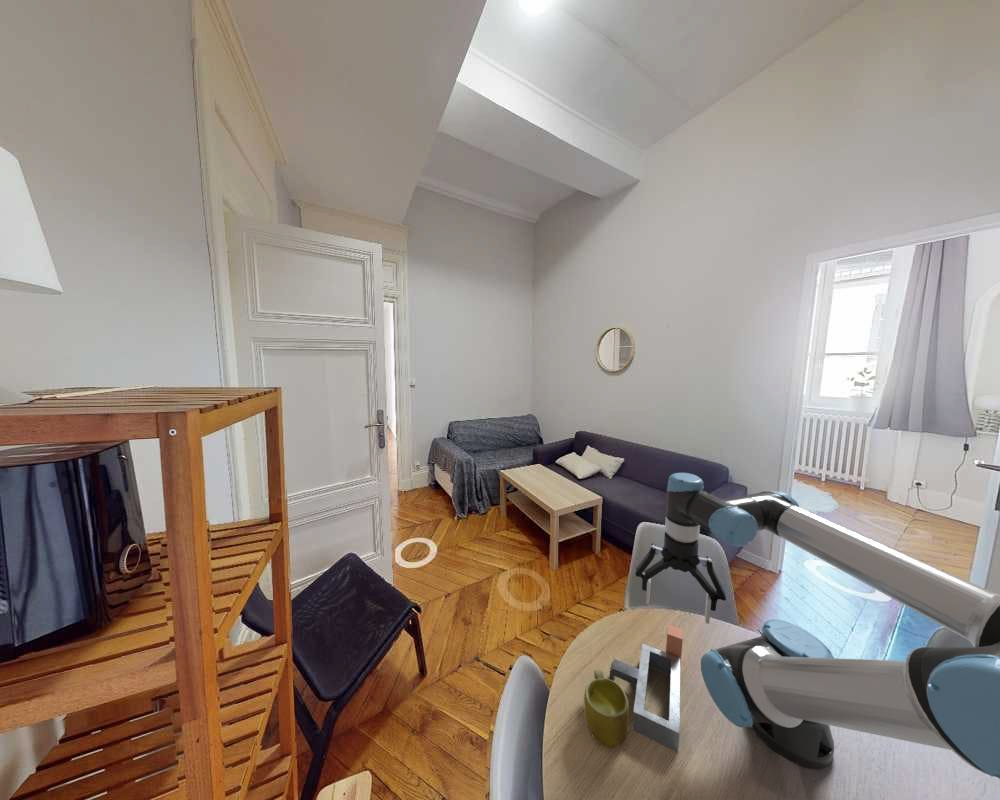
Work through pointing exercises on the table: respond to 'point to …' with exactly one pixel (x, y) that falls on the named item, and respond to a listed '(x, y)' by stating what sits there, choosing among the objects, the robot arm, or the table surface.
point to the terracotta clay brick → (674, 641)
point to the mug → (606, 711)
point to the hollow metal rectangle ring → (643, 719)
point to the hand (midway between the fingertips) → (676, 610)
